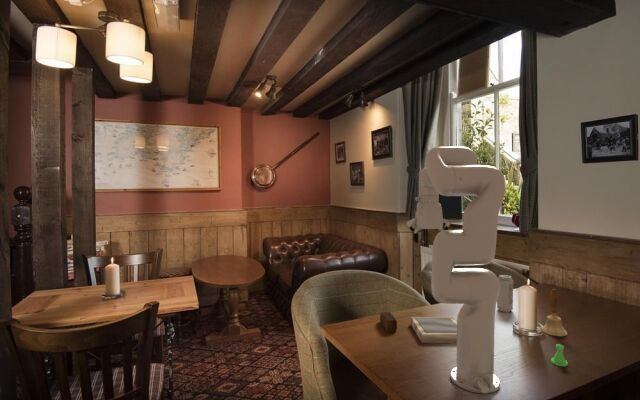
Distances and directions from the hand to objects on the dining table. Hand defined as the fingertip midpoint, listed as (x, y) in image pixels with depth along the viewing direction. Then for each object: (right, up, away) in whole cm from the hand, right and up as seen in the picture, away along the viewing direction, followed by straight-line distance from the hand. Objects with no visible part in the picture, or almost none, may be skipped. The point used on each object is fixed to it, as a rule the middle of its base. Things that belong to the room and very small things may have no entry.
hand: (428, 242), depth 144 cm
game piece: (+30, -33, -34) cm, 56 cm away
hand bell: (+43, -32, -11) cm, 55 cm away
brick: (-17, -32, -5) cm, 37 cm away
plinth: (0, -32, -11) cm, 34 cm away
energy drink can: (+36, -31, +11) cm, 49 cm away
